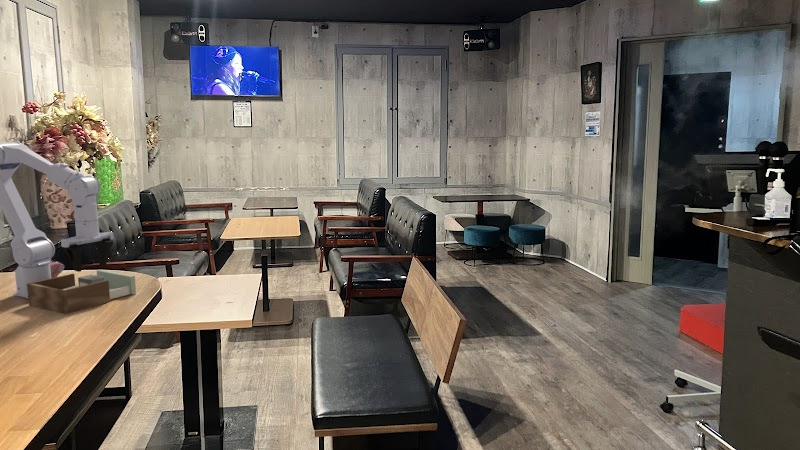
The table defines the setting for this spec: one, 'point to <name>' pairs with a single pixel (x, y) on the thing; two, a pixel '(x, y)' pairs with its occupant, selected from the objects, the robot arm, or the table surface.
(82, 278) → the grey upright block
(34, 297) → the dock housing
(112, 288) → the tray
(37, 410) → the table surface
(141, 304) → the table surface
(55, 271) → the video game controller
